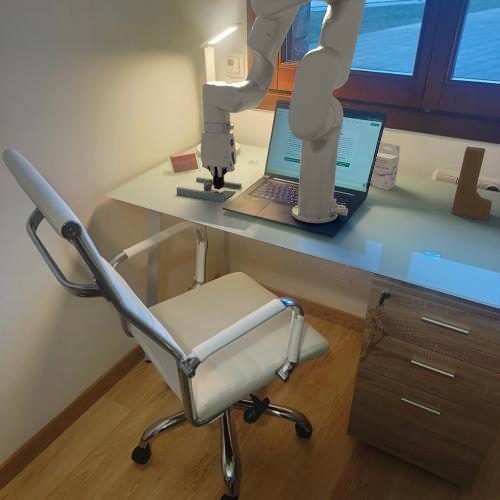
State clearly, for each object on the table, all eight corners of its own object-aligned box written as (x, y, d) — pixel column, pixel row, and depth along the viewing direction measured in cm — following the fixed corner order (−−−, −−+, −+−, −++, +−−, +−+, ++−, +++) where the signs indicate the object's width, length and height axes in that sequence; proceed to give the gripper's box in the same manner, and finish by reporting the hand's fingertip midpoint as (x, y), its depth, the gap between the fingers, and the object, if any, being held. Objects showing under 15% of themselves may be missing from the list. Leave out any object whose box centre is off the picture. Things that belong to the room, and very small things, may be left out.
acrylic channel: (241, 189, 139) (241, 183, 138) (222, 202, 129) (222, 195, 128) (198, 182, 146) (198, 176, 145) (176, 194, 136) (176, 187, 135)
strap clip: (220, 195, 136) (220, 181, 134) (212, 197, 134) (212, 183, 132) (204, 188, 141) (203, 175, 140) (196, 190, 140) (195, 177, 138)
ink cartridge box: (361, 190, 139) (367, 143, 132) (369, 186, 142) (375, 140, 136) (386, 196, 134) (393, 148, 127) (394, 192, 137) (401, 145, 130)
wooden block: (488, 215, 120) (505, 150, 112) (487, 221, 116) (505, 154, 108) (452, 210, 124) (466, 146, 116) (450, 215, 120) (465, 149, 112)
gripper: (246, 127, 127) (246, 188, 135) (201, 122, 133) (204, 181, 141) (233, 132, 121) (234, 195, 129) (188, 127, 127) (191, 188, 135)
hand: (218, 188), depth 135 cm, fingers closed
